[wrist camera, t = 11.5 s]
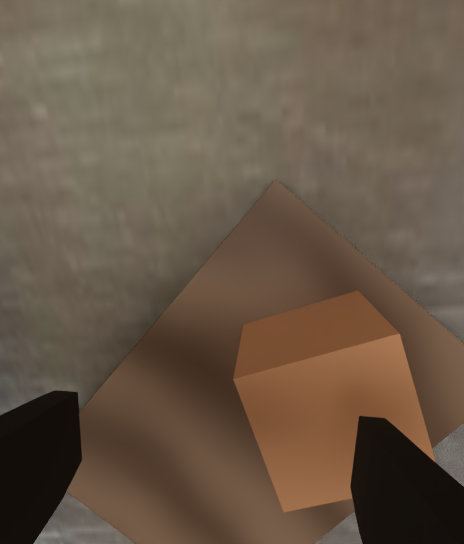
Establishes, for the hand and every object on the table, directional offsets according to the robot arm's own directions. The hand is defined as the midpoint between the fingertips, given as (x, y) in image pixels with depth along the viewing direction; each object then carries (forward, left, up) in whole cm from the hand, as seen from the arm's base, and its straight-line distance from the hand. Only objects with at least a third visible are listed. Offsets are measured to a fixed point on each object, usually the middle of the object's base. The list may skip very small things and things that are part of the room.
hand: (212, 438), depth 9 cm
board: (-4, -4, -9) cm, 11 cm away
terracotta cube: (+1, -4, -8) cm, 9 cm away
